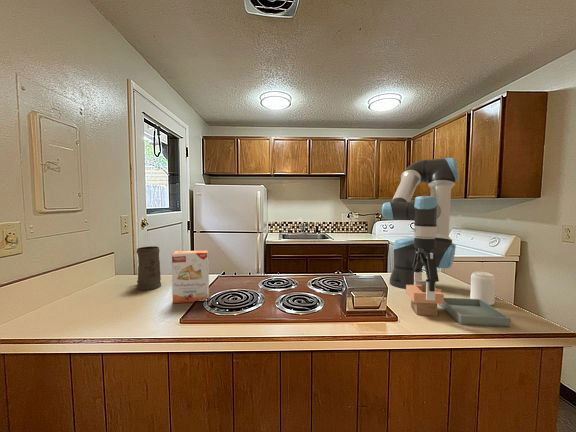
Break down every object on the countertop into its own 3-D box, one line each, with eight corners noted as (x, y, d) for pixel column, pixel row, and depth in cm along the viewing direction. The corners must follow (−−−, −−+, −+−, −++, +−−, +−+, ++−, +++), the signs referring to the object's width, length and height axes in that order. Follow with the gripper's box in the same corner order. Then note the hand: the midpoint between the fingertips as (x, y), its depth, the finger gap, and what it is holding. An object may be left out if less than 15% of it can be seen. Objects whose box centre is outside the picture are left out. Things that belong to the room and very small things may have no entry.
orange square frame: (406, 293, 108) (406, 284, 108) (435, 294, 106) (435, 285, 106) (413, 302, 98) (414, 292, 98) (446, 304, 97) (446, 294, 96)
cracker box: (172, 304, 111) (171, 253, 110) (175, 299, 117) (174, 250, 116) (207, 301, 113) (207, 252, 112) (209, 297, 119) (208, 249, 118)
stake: (410, 307, 107) (411, 278, 106) (429, 308, 106) (430, 279, 105) (416, 314, 100) (417, 283, 99) (437, 315, 99) (437, 284, 98)
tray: (438, 304, 109) (438, 297, 109) (479, 306, 107) (479, 299, 107) (460, 324, 91) (460, 315, 91) (510, 327, 89) (510, 318, 89)
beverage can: (498, 306, 107) (499, 276, 106) (475, 305, 108) (476, 275, 108) (488, 299, 115) (488, 271, 114) (466, 298, 116) (467, 270, 116)
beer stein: (166, 285, 135) (164, 245, 135) (145, 291, 126) (143, 248, 126) (149, 283, 143) (146, 245, 143) (128, 288, 134) (125, 248, 134)
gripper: (404, 234, 114) (403, 284, 115) (426, 241, 89) (424, 304, 90) (423, 234, 113) (422, 285, 114) (450, 241, 88) (449, 306, 89)
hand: (423, 293), depth 102 cm, fingers open, 13 cm apart
